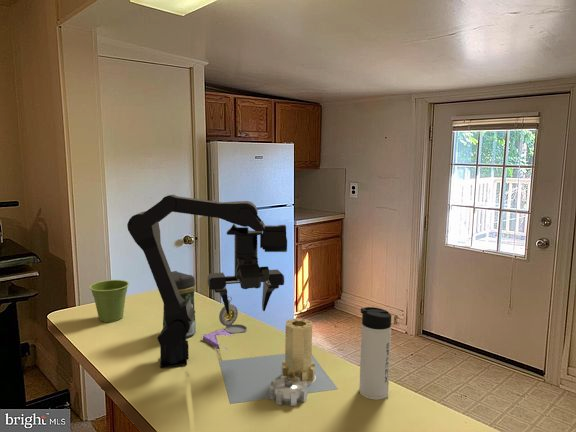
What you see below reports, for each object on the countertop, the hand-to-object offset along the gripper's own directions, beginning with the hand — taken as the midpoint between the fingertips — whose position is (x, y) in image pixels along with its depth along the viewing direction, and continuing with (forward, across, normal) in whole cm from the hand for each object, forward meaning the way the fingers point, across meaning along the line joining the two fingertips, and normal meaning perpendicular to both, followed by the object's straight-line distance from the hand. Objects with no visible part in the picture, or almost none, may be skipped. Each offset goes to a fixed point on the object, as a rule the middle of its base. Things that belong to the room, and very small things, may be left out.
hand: (245, 312), depth 110 cm
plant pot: (+13, -37, +40) cm, 56 cm away
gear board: (+13, +5, -11) cm, 18 cm away
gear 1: (+12, +10, -14) cm, 21 cm away
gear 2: (+12, +6, -21) cm, 25 cm away
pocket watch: (+13, 0, +21) cm, 25 cm away
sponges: (+14, -4, +12) cm, 19 cm away
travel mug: (+13, +24, -24) cm, 36 cm away
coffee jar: (+13, -16, +22) cm, 30 cm away
